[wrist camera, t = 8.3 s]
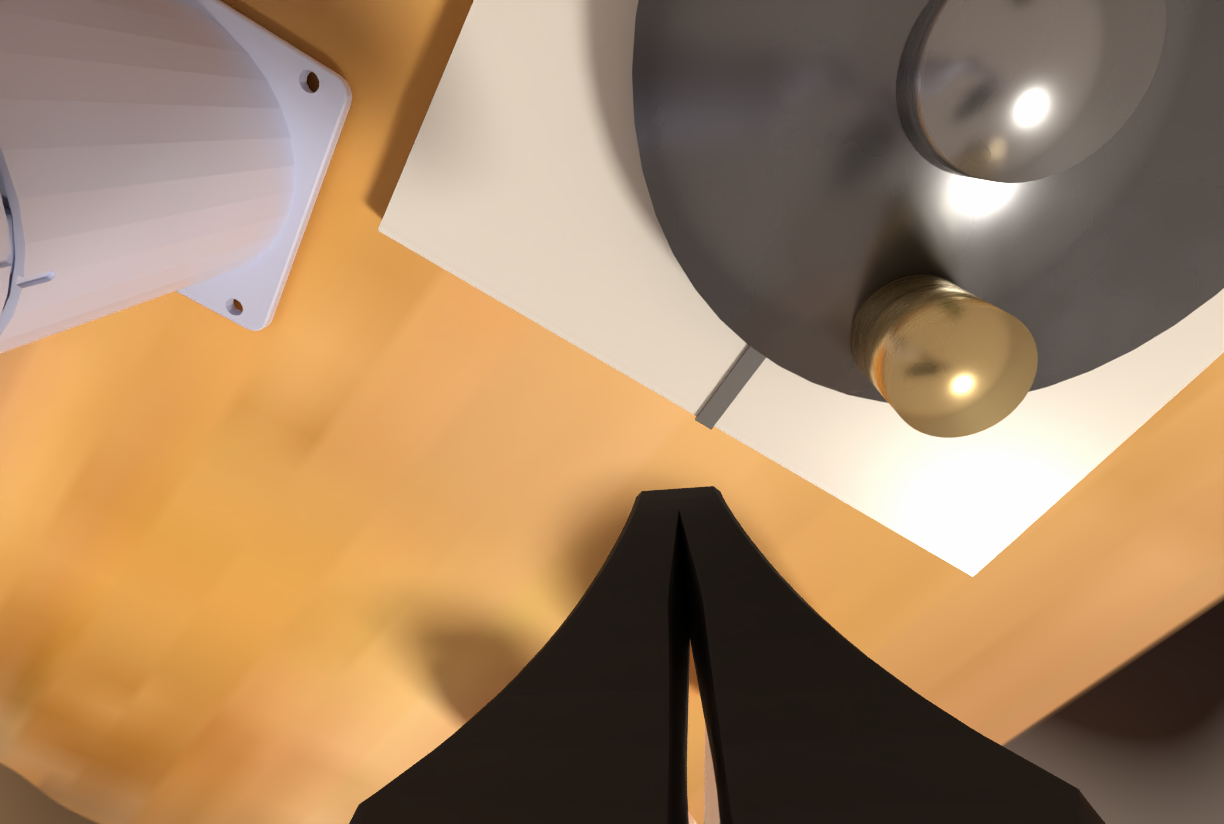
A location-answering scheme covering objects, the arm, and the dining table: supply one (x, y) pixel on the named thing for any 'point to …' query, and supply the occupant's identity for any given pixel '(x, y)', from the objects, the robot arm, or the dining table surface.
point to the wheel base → (680, 318)
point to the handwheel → (938, 185)
